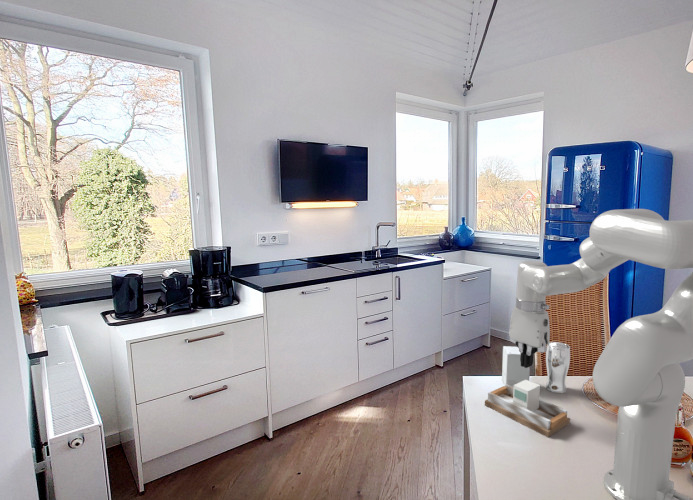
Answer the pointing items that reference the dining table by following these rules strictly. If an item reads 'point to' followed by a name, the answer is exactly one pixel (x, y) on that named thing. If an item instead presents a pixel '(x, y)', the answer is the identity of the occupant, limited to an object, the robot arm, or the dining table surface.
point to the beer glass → (557, 366)
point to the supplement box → (513, 367)
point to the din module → (526, 395)
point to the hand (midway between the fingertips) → (526, 365)
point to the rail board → (528, 412)
